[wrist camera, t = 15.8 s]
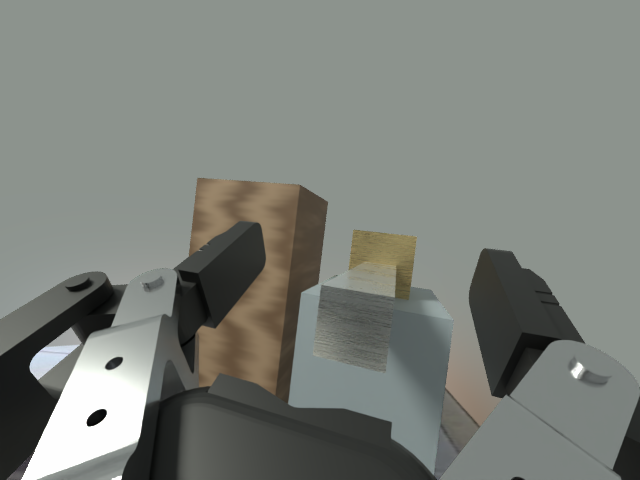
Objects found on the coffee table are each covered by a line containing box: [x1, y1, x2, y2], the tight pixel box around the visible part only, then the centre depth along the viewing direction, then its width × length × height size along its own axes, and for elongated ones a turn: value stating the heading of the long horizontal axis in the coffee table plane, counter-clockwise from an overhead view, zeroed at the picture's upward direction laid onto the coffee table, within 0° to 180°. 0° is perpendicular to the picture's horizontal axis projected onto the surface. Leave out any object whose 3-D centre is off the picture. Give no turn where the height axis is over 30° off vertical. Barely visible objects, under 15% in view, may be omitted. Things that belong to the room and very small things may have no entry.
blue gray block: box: [288, 275, 454, 475], centre depth 29 cm, size 12×14×22 cm
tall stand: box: [189, 178, 328, 404], centre depth 39 cm, size 14×13×32 cm
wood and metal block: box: [313, 230, 417, 373], centre depth 22 cm, size 6×23×6 cm, turn 164°
